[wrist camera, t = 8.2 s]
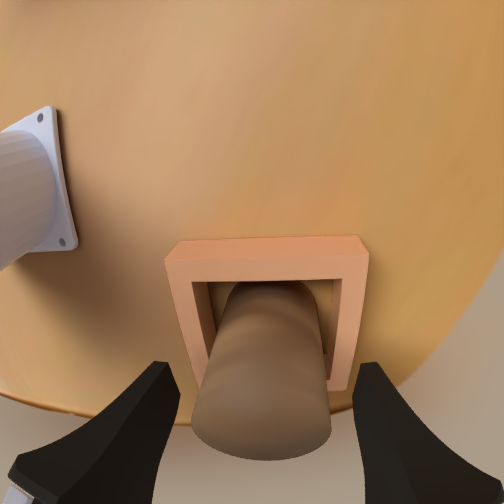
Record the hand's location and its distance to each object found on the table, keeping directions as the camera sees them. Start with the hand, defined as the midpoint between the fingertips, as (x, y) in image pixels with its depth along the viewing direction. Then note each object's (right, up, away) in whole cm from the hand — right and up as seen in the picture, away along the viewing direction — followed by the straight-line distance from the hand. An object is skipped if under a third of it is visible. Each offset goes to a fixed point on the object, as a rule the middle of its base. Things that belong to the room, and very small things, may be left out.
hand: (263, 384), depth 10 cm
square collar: (+1, +2, +4) cm, 5 cm away
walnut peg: (+1, +2, +4) cm, 5 cm away
